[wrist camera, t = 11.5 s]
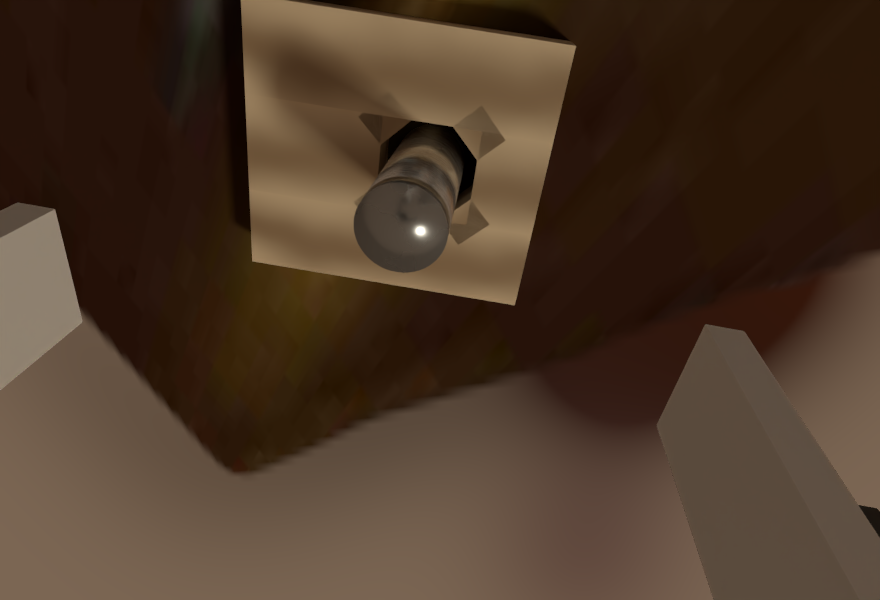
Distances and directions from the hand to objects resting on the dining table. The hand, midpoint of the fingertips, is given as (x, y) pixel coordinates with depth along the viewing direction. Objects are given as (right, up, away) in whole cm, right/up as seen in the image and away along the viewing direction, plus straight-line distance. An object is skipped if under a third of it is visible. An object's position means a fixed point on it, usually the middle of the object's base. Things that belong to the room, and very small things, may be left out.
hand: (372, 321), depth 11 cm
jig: (-1, +10, +24) cm, 26 cm away
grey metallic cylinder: (+1, +10, +24) cm, 26 cm away
